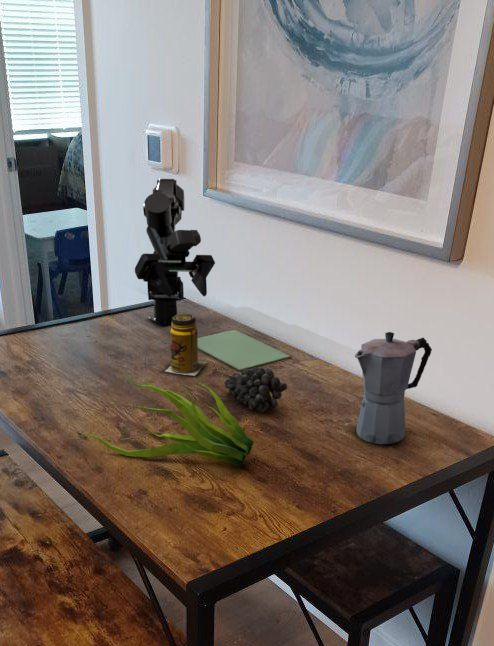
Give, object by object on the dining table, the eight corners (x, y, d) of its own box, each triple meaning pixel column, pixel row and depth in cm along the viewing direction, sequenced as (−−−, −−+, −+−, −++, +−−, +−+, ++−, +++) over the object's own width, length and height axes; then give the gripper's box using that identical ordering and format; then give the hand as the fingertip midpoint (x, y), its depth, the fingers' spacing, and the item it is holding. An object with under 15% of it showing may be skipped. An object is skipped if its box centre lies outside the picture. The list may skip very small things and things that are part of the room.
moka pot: (332, 430, 133) (344, 328, 123) (398, 416, 139) (415, 317, 129) (361, 452, 126) (376, 346, 116) (430, 437, 131) (451, 334, 121)
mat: (185, 341, 174) (185, 340, 174) (234, 330, 181) (234, 329, 181) (239, 370, 158) (239, 369, 158) (290, 357, 165) (290, 356, 165)
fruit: (219, 352, 143) (269, 373, 132) (248, 356, 148) (298, 377, 138) (208, 392, 145) (256, 417, 135) (238, 395, 151) (286, 419, 140)
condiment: (164, 372, 157) (163, 320, 151) (178, 359, 164) (177, 308, 158) (194, 376, 155) (195, 324, 149) (207, 363, 162) (208, 312, 156)
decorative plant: (135, 414, 139) (132, 343, 131) (259, 462, 122) (263, 384, 115) (66, 448, 127) (58, 371, 119) (193, 506, 110) (193, 422, 103)
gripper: (141, 214, 153) (166, 270, 147) (212, 218, 163) (238, 271, 157) (124, 251, 161) (147, 305, 156) (192, 252, 171) (216, 303, 166)
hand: (188, 295), depth 159 cm, fingers open, 9 cm apart
